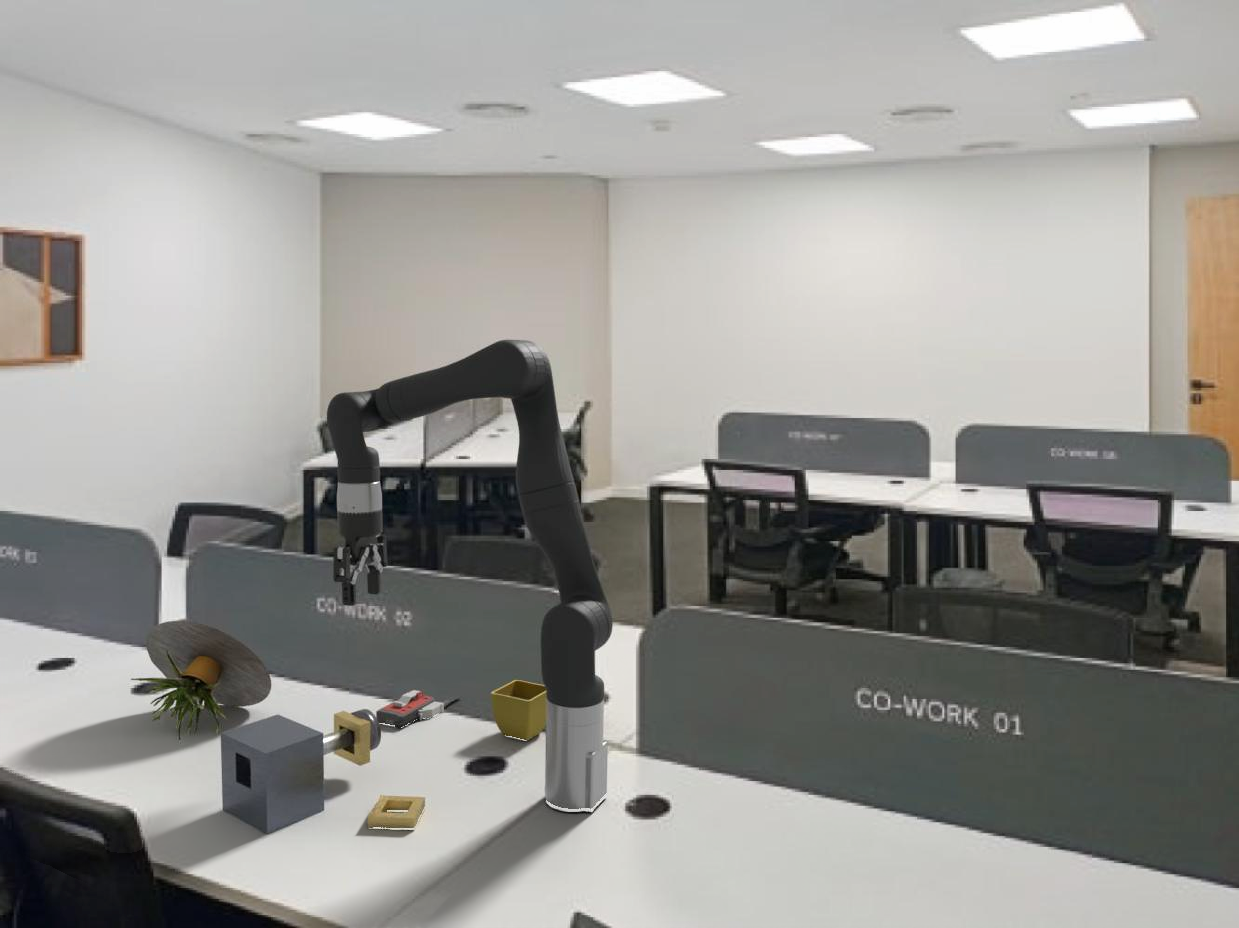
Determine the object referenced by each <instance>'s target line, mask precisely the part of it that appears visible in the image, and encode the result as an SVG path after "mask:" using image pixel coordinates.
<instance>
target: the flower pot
mask: <svg viewBox="0 0 1239 928" xmlns="http://www.w3.org/2000/svg"><path fill="white" fill-rule="evenodd" d="M490 698H491V705H492V706H491V707H492V712H493V716H494V721H495V723H496V726H497V728H498V729H499V731H500V733H501V734H502V735H503V736H504V735H506V736H512V737H516V738H520V739H524V740H528V739H530V738H531V737H533V736H535V735H537V734H538V735H540V734H541V733H542V731H543V730H544V728H546V698H547V697H546V687H545V685H544V684H540V683H539V684H538V683H534V682H529V681H525V680H520V679H519V680H518V679H514V680H512V681H511V682H508V683H506V684H504V685H503V686H500V687H499V688H497V689H495V690H493V691H491V692H490ZM538 735H537V736H538ZM535 737H536V736H535ZM533 738H534V737H533ZM530 740H531V739H530Z"/></svg>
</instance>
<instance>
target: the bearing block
mask: <svg viewBox="0 0 1239 928" xmlns="http://www.w3.org/2000/svg"><path fill="white" fill-rule="evenodd" d="M323 736H324V732H321V731H319V730H316V729H314V728H312V727H309V726H306V725H305V724H302V723H299V722H298V721H295V720H292V719H290V718H288V717H285V716H282V715H280V714H275V715H271V716H268V717H266V718H265V717H264V718H263V719H260V720H256V721H253V722H250V723H246V724H244V725H240V726H237V727H234V728H231V729H228V730H225V731H222V732H220V755H221V757H220V759H221V761H220V763H221V765H220V766H221V797H222V810H223V811H224V812H225V813H228V814H229V815H231V816H233V817H235V818H236V819H239V820H240V821H242V822H244V823H246V824H247V825H249V826H252V827H253V828H256V829H257V830H258V831H261V832H263V833H265V835H269V834H271V833H274V832H277V831H279V830H281V829H283V828H286V827H288V826H290V825H293V824H295V823H298V822H299V821H302V820H305V819H306V818H308V817H312V816H314V815H316V814H318V813H321V812H324V811H325V763H324V758H325V755H324V749H323Z"/></svg>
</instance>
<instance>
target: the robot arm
mask: <svg viewBox="0 0 1239 928" xmlns="http://www.w3.org/2000/svg"><path fill="white" fill-rule="evenodd" d="M491 398H492V399H493V398H503V399H510V400H511V404H512V407H513V410H514V414H515V418H516V422H517V428H518V440H519V441H518V450H517V459H516V464H515V465H516V467H515V469H516V470H515V486H516V492H517V495H518V501H519V504H520V505H519V506H520V509H521V513H522V516H523V519H524V523H525V526H526V528H527V530H528V531H529V533H530V535H531V537H532V538H533V540H534V542H535V543H536V544H537V546H538V547H539V549H540V550H541V551H542V553H543V554H544V556H545V558H546V559H547V561H548V563H549V564H550V566H551V568H552V571H553V573H554V577H555V581H556V584H557V588H558V589H557V590H558V594H559V599H560V600H559V601H560V603H557V604H556V605H554V606H553V607H551V608H550V609H548V611H547V612H546V614H545V615H544V617H543V620H542V623H541V628H540V629H541V630H540V664H541V677H542V682H543V685H545V687H546V697H547V698H546V725H545V755H544V756H545V759H544V761H545V762H544V763H545V765H544V766H545V768H544V769H545V771H544V775H545V776H544V780H545V782H544V799H545V798H546V800H547V801H548V802H550V803H551V804H553V805H555V806H558V807H561V808H568V809H579V808H580V809H581V808H590V809H591V808H593V807H594V806H595V805H596V803H597V802H598V801H600V799H601V798H602V797H603V796H604V795H605V794H606V793H607V792H608V786H607V785H608V753H609V751H608V750H609V749H608V748H609V747H608V745H609V744H608V742H607V741H604V719H605V682H604V680H603V678H601V677H600V676H598V675H597V674H595V673H596V671H595V652H596V651H597V650H599V649H601V648H602V647H603V646H604V645H605V644H607V642H608V641H609V640H610V638H611V635H612V634H613V633H612V632H613V626H614V625H613V624H614V623H613V615H612V611H611V608H610V605H609V602H608V599H607V597H606V593H605V591H604V588H603V585H602V583H601V579H600V578H599V577H600V576H599V573H598V571H597V569H596V565H595V562H594V559H593V555H592V552H591V550H592V549H591V546H590V541H589V538H588V533H587V529H586V525H585V521H584V518H583V514H582V509H581V504H580V499H579V495H578V494H579V493H578V491H577V488H576V487H577V486H576V483H575V478H574V476H573V475H574V474H573V472H572V469H571V465H570V461H569V456H568V451H567V447H566V444H565V439H564V435H563V432H562V428H561V424H560V419H559V414H558V407H557V400H556V392H555V384H554V377H553V371H552V366H551V361H550V359H549V357H548V355H547V353H546V351H545V350H544V348H542V347H541V346H540V345H539V344H537V343H536V342H533V341H530V340H527V339H526V340H525V339H502V340H499V341H495V342H493V343H491V344H490V345H489V344H488V346H486V347H483V348H482V349H479V350H477V351H476V352H474V353H472V354H470V355H467V356H466V357H464V358H462V359H459V360H456V361H455V362H452V363H449V364H447V365H444V366H441V367H438V368H433V369H431V370H426V371H423V372H419V373H415V374H411V375H408V376H403V377H400V378H397V379H394V380H390V381H388V382H386V383H383V384H382V385H381V386H380V387H378V388H376V389H370V390H365V391H350V392H349V391H348V392H347V391H345V392H339V393H338V394H336V395H334V396H333V397H332V398H331V400H330V401H329V404H328V406H327V409H326V423H327V429H328V431H329V432H328V433H329V435H330V438H331V442H332V446H333V449H334V452H335V456H336V459H337V490H336V491H337V492H336V510H337V511H336V513H337V516H336V517H337V534H338V535H339V536H341V537H343V538H344V546H335V547H333V582H334V583H339V584H341V596H342V598H341V599H342V605H344V606H347V607H350V606H351V607H352V606H355V605H357V586H356V585H357V584H356V582H357V578H358V575H359V574H360V573H361V572H362V571H363V567H365V569H366V571H367V574H366V578H367V581H366V582H367V593H368V594H369V595H379V594H381V589H382V587H381V586H382V584H381V573H383V570H384V568H387V567H388V548H387V535H386V534H382V533H383V532H384V531H383V530H384V529H383V527H384V526H383V493H382V487H381V486H382V485H381V470H380V469H381V468H380V466H381V465H380V455H379V454H380V453H379V452H378V450H377V449H376V448H374V447H371V446H367V444H366V443H367V442H366V439H365V437H364V433H370V432H374V431H377V430H381V429H385V428H387V427H389V426H392V425H394V424H397V423H401V422H406V421H409V420H414V419H417V418H421V417H425V416H428V415H431V414H434V413H437V412H438V411H441V410H443V409H445V408H446V407H449V406H452V405H454V404H458V403H460V402H464V401H469V400H476V399H477V400H478V399H491ZM340 570H342V571H341V572H340ZM607 794H608V793H607Z"/></svg>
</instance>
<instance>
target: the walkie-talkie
mask: <svg viewBox="0 0 1239 928" xmlns="http://www.w3.org/2000/svg"><path fill="white" fill-rule="evenodd" d="M449 703H450V702H449V700H447V699H446V700H443V701H440V702H439V701H435V698H434V697H432V696H429V695H425V694H424V691H420V690H414V689H411V690H410V691H408V692H406V693H404V694H401V697H399V699H397V700H394V701H392V702H391V703H389V704H388V705H385V706H384V707H382V708H380V709H378V710H376V715H375V716H376V718H377V720H378V722H379V723H385V724H390V725H395V727H396V728H395V729H399V728H400V729H402V728H401V727H403V726H405V725H407V724H408V723H411V722H413V721H414V720H416V719H423V718H430V717H433V716H434V715H436V714H438V713H440V714H443V713H444V712H445V708H446V707H447V706H449V705H450V704H451V703H450V704H449ZM433 718H434V717H433ZM416 721H417V720H416ZM413 723H414V722H413ZM411 724H412V723H411Z"/></svg>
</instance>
